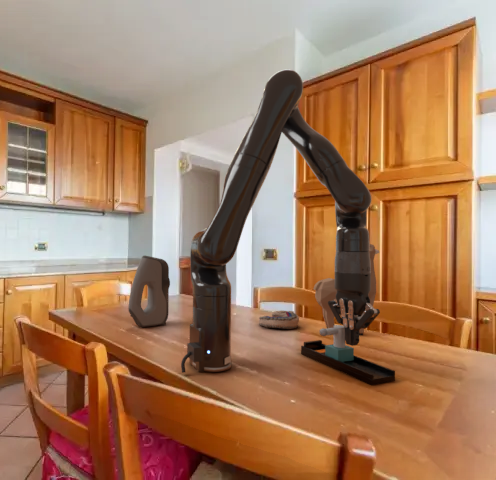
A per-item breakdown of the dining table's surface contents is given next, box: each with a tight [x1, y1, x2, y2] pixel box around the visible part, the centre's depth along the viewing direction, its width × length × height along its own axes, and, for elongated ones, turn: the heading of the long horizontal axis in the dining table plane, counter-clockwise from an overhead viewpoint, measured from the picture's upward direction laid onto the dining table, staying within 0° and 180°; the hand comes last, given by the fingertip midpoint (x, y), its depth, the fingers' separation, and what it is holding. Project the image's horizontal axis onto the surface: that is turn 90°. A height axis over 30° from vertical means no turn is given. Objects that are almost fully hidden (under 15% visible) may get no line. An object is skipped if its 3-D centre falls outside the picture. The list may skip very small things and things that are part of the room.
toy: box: [312, 243, 380, 336], centre depth 112 cm, size 9×20×30 cm, turn 78°
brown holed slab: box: [127, 255, 171, 328], centre depth 119 cm, size 6×15×25 cm, turn 125°
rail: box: [300, 339, 396, 386], centre depth 81 cm, size 7×21×3 cm, turn 21°
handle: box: [319, 324, 355, 362], centre depth 81 cm, size 8×4×8 cm, turn 111°
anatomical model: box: [258, 310, 300, 330], centre depth 120 cm, size 12×16×5 cm
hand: (352, 344), depth 78 cm, fingers closed
